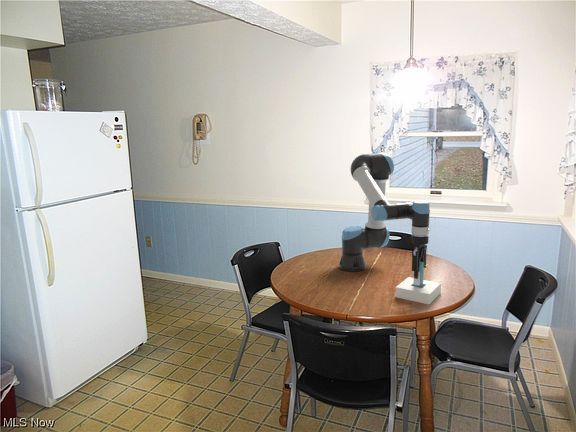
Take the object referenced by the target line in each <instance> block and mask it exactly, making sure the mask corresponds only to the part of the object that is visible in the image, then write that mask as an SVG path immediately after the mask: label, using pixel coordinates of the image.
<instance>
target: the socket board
mask: <svg viewBox="0 0 576 432" xmlns="http://www.w3.org/2000/svg"><path fill="white" fill-rule="evenodd" d="M413 278H414V277H410V276H408V277H407V278H405V279H404V280H403V281H402V282H401V283H399V284H398V285H397V286H395V294H394V295H395V298H397V299H403V300H406V301H411V302H416V303H420V304H423V305H424V304H425V305H430V304H432V302H434V301H435V299H436V298H437V297H438V296H439V295H441V293H442V283H441V282H437V281H432V280H427V279H426V280H425V279H424V282H423V288H419V287H414V284H413Z"/></svg>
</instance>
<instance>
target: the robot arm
mask: <svg viewBox="0 0 576 432" xmlns="http://www.w3.org/2000/svg"><path fill="white" fill-rule="evenodd" d="M394 170H395V164H394V160H393V157H392V156H391V155H390V154H389V153H384V152H383V153H382V152H380V153H370V154H369V153H367V154H366V153H365V154H360V155H358V156H357V157H354V159H353V161H352V162H351V164H350V174H351V177H352V179H353V180H354V181H355V182H357V183H358V185H359V187H360V189H361V190H362V192H363V194H365V195H364V196H365V197H366V199H367V200H368V213H367V214H368V217H367V222H366V223H364V227H362V226H360V225H353V226H348V227H345V228H344V229H343V230H342V234H341V246H342V247H341V249H342V250H341V254H342V255H341V257H340V260H339V263H338V267H339V269H340V270H341V271H346V272H352V273H353V272H361V271H363V270H366V268H367V264H366V261H365V257H364V253H363V252H364V251H363V250H369V249H375V248H376V249H379V248H383V247H386V246H387V244H388V243H389V241H390V230H389V228H388V227H387V225H386V224H385V221H394V220H405V219H409V220H411V241H410V242H411V243H412V244H413V245H414V247H413V250H411V255H412V256H411V258H412V259H411V271H412V272H413V277H412V278H413V284H415V285H420V271H419V268H420V261H421V262H424V270H423V282H424V280H425V269H426V268H427V266H426V265H427V252H428V251H427V250H428V244H429V231H430V230H431V229H430V228H429V227H430V213H431V212H430V211H431V210H430V203H429V202H428V201H425V200H415V201H413V202H411V201H406V200H405V201H403V200H402V202H400V203H389V201H388V200H387V198H386V185H387V181H388V180H389V179H390V176H391V175H392V174H393V173H394Z"/></svg>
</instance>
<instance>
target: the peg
mask: <svg viewBox="0 0 576 432" xmlns="http://www.w3.org/2000/svg"><path fill="white" fill-rule="evenodd" d="M423 270H424V271H425V268H424V262H421V261H420V268H419V271H420V285H415V284H414V287H419V288H423Z"/></svg>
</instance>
